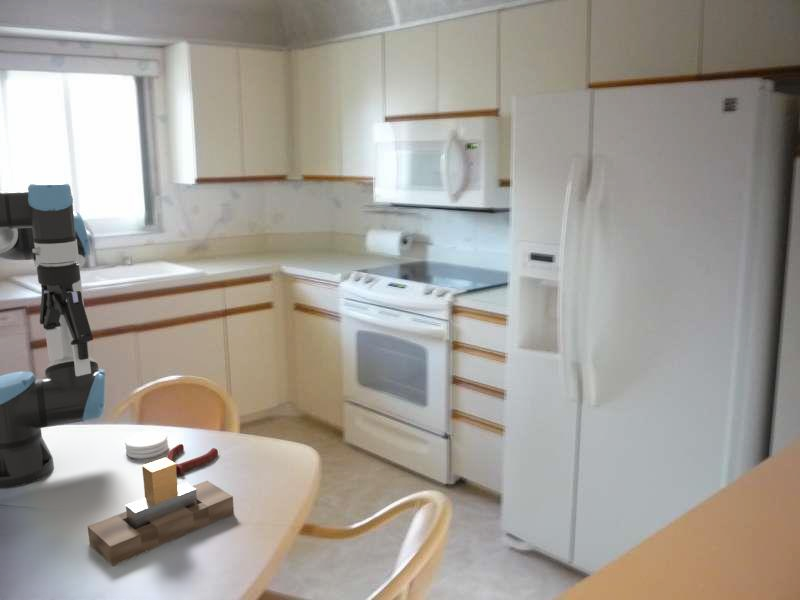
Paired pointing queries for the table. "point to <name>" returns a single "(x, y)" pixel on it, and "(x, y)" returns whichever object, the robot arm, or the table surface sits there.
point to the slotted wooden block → (158, 526)
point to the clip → (160, 494)
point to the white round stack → (146, 444)
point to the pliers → (191, 463)
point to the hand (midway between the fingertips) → (69, 366)
